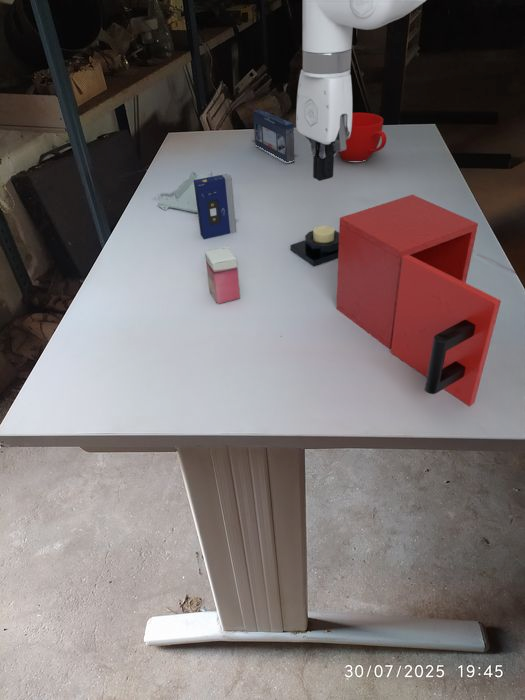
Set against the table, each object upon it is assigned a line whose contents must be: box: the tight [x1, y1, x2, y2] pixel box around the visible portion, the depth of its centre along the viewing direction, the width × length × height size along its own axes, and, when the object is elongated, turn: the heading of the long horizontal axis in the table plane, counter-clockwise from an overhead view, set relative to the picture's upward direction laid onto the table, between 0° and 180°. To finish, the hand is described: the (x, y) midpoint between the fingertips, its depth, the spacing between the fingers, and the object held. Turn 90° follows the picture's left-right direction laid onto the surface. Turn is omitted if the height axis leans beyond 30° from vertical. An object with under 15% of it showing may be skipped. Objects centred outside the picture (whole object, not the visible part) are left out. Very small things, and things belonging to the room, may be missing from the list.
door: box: [390, 254, 502, 407], centre depth 68 cm, size 7×14×16 cm, turn 34°
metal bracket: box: [157, 170, 214, 218], centre depth 125 cm, size 14×6×15 cm
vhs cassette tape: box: [252, 109, 296, 162], centre depth 147 cm, size 18×3×10 cm, turn 27°
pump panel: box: [290, 229, 339, 267], centre depth 103 cm, size 10×8×3 cm
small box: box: [204, 245, 241, 305], centre depth 91 cm, size 5×4×8 cm
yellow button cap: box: [312, 225, 335, 243], centre depth 102 cm, size 4×4×2 cm
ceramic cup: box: [337, 112, 387, 162], centre depth 139 cm, size 13×17×10 cm
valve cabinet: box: [335, 194, 479, 350], centre depth 81 cm, size 13×14×16 cm
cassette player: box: [194, 173, 237, 240], centre depth 109 cm, size 7×2×12 cm, turn 112°
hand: (323, 177), depth 95 cm, fingers closed
